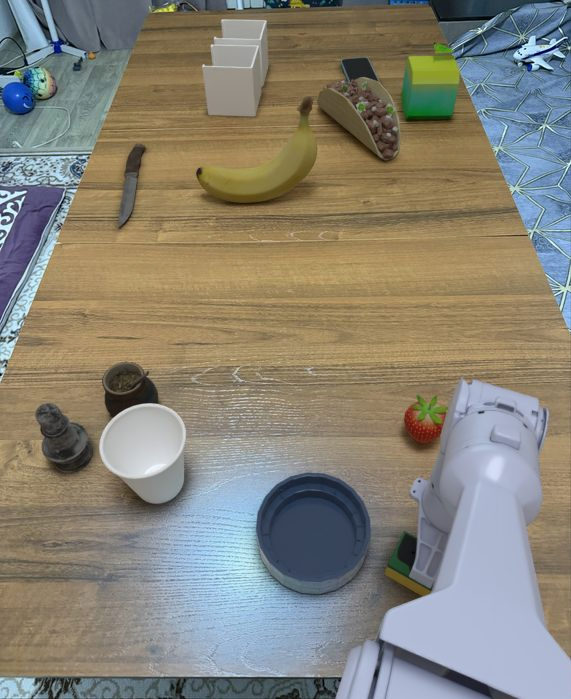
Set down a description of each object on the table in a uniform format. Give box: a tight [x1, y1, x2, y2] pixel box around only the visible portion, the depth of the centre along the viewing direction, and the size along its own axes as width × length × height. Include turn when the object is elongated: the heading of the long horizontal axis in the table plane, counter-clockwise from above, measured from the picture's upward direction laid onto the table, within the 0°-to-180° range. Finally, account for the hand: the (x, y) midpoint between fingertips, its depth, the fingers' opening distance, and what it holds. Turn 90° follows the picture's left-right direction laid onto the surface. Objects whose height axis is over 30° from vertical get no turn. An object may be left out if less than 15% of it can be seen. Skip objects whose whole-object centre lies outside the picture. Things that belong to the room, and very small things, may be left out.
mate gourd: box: [101, 360, 159, 419], centre depth 78 cm, size 7×8×10 cm
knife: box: [117, 142, 146, 228], centre depth 115 cm, size 28×3×1 cm, turn 4°
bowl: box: [255, 472, 371, 595], centre depth 68 cm, size 13×13×4 cm
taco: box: [316, 77, 402, 162], centre depth 123 cm, size 10×27×10 cm, turn 29°
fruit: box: [403, 394, 449, 444], centre depth 75 cm, size 5×5×8 cm
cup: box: [98, 403, 187, 505], centre depth 70 cm, size 10×10×11 cm
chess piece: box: [34, 402, 94, 474], centre depth 73 cm, size 6×6×12 cm
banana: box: [195, 95, 318, 204], centre depth 105 cm, size 23×6×20 cm, turn 93°
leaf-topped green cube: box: [401, 41, 460, 121], centre depth 126 cm, size 11×10×15 cm
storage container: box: [201, 18, 270, 117], centre depth 136 cm, size 25×11×11 cm, turn 174°
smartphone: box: [340, 56, 381, 84], centre depth 143 cm, size 7×1×15 cm
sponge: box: [384, 530, 434, 597], centre depth 65 cm, size 7×4×4 cm, turn 59°
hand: (435, 543), depth 59 cm, fingers open, 7 cm apart
